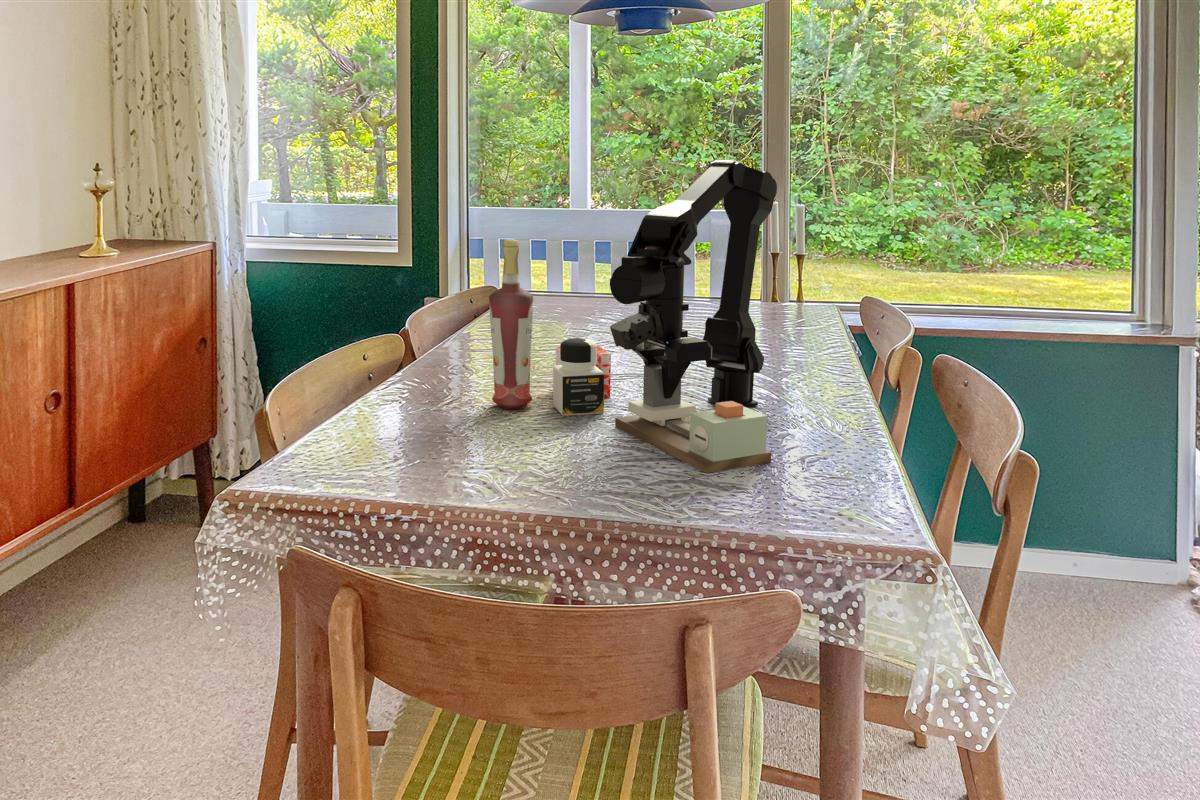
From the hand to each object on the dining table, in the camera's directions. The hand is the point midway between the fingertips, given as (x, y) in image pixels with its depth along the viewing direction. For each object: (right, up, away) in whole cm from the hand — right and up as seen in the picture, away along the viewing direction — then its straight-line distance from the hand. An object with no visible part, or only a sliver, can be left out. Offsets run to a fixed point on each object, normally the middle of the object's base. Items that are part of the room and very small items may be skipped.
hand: (662, 395), depth 164 cm
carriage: (0, -3, +1) cm, 3 cm away
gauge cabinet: (+8, -8, -14) cm, 18 cm away
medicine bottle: (-13, -3, +13) cm, 19 cm away
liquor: (-25, -2, +15) cm, 29 cm away
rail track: (+4, -7, -5) cm, 10 cm away
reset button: (+9, -5, -15) cm, 18 cm away
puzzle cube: (-13, 0, +25) cm, 28 cm away
